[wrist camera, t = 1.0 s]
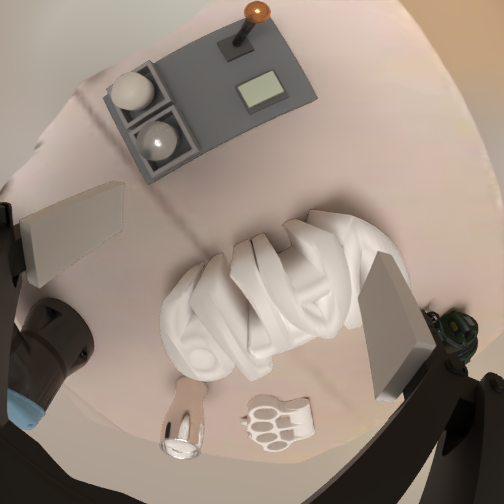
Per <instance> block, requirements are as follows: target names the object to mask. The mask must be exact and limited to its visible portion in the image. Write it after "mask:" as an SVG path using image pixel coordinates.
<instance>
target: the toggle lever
mask: <svg viewBox="0 0 504 504" xmlns="http://www.w3.org/2000/svg"><path fill="white" fill-rule="evenodd" d="M270 14H271V11H270V8H269V6H268V5H267V4H265V3H264V2H260V1H254V2H251V3H249V4H248V5H247V6H246V7H245V10H244V15H245V17H246V20H245V21H244V23H243V25H242V26H241V28H240V29H239V31H238V33H237V34H236V36H235V37H234V39H233V41H232V44H233V46H235V47H239V46H241V45H242V43H243V42H244V40H245V39H246V38H247V36H248V35H249V33H250V32H251V30H252V29H253V28H254V26H255V25H256V23H257V24H258V23H263V22H265V21H267V20H268V19H269V17H270Z"/></svg>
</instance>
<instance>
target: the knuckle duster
mask: <svg viewBox="0 0 504 504" xmlns="http://www.w3.org/2000/svg"><path fill="white" fill-rule="evenodd" d="M261 408H270V409H261ZM280 415H289V417H285V418H278V417H279V416H280ZM240 423H242V424H244V425H247V430H248V431H249V432H250V434H249V435H248V436H247V437H250V438H251V439H252V440H253V441H255V442H256V443H259V444H261V445H262V446H263V449H264V450H266V451H270V452H278V451H282V450H284V449H286V448H288V447H289V445H290V443H292V442H294V441H297V440H302V439H305V438H308V437H310V436H312V435H314V433H315V430H314V425H313V419H312V414H311V409H310V403H309V400H308V399H305V398H300V399H296V400H291V401H288V402H282V401H279V400H278V399H277V398H275V397H273V396H269V395H260V396H256V397H254V398H252V399H251V400H250V401H249V402H248V415H247V419H245V420H243V421H241V422H240ZM288 429H293V430H291V431H285V430H288Z"/></svg>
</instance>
